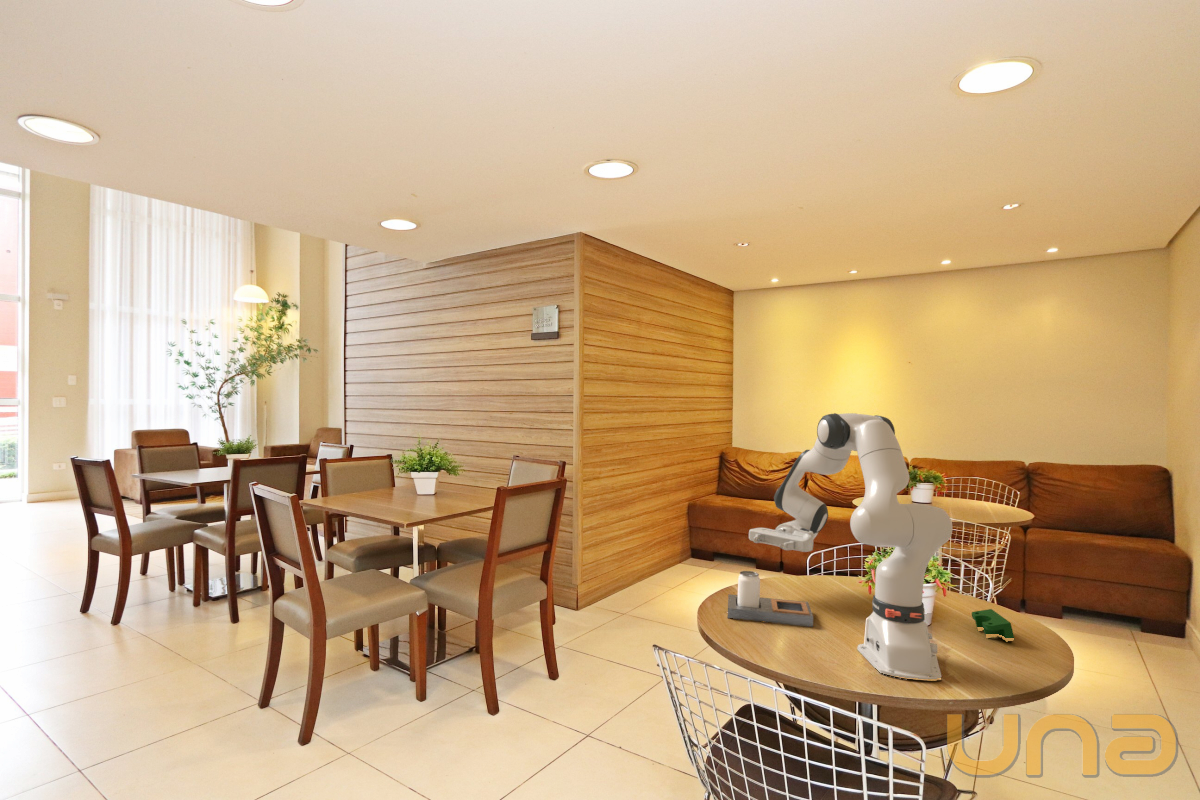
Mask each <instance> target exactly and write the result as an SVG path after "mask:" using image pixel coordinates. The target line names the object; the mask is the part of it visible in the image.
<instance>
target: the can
mask: <svg viewBox="0 0 1200 800" xmlns="http://www.w3.org/2000/svg"><path fill="white" fill-rule="evenodd" d="M737 595H738V600H737V606H744V607H754V608H759V600H760V597H761V596H760V595H761V579H760V577H759V573H758V572H756V571H751V570H743V571H740V572H739V575H738V578H737Z"/></svg>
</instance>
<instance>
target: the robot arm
mask: <svg viewBox="0 0 1200 800" xmlns="http://www.w3.org/2000/svg"><path fill="white" fill-rule="evenodd" d="M816 435H817V437H816V439H815V442H814V445H813V446H812V448H810V449H806V450H804V451H802V452H801V453H800V454H799V455H798V457H797V458H796V460H795V461H794V463H793V465H792V466H791V468H790V469H789V472H788V473H787V475H786V476H785V478H784V480H783V481H782V483H781V485H780V486H779V487H778V488H777V490H776V492H775V493H774V496H773V501H774V504H775V507H776V508H777V509H778V510H780V511H782V512H784V513H787V514H788V515H789V516H791V517H792V518H794V519H793V520H791V521H787V522H783V523H780V524H779V525H777V526H776V527H775V529H772V528H768V527H755V528H750V529H749V531H748V539H749V541H751V542H753V543H755V544H765V545H771V546H774V547H779V548H780V549H782V550H784V551H792V550H793V551H798V552H803V553H807V552H808V553H809V552H812V551H813V550H814V549H813V548H814V540H815V538H816V537H817V536H818V534H819V532H821V531H822V530H823V528H824V527H825V525H826V523H827V521H828V518H829V511H828V510H829V509H828V507H827V504H826V503H825V502H823V501H821V500H820V499H818V498H817V497H815V496H814V495H811V494H810V493H809V492H807V491H805V490H804V489H802V488H801V487H800V485H799V483H800V481H801V480H802V479H803V477H804V475H805V473H808V472H809V473H815V474H818V475H825V476H828V475H829V476H830V475H836V474H837V473H840V472H841V471H842V470H844V468H845V467H846V465H847V463H848V461H849V460H850V459H849V458H850V456H851V453H852V452H853V451H854V452H857V456H858V461H859V464H860V468H861V472H862V476H863V480H864V481H863V482H864V488H865V489H864V495H863V499H862V501H861V503H860V504H859V505H858V506H857V507H855V509H854V511H853V512H852V513H851V517H850V519H849V520H850V521H849V527H850V531H851V533H852V535H853V536H854V538H855V540H857V542H858V543H861V544H864V545H868V546H873V547H876V548H894V549H893V551H892V553H891V554H890V555H889V556H888V557H886V558H885V559H883V560H882V561H881V562H879V564H878V565H877V566H876V569H875V583H874V585H875V587H874V594H873V597H872V612H871V614H870V615H869V616H868V617H866V619H865V629H864V638H863V639H864V640H863V643H859V644H858V645H857V646H856V647H857V648H856V649H857V651H858V653H860V654H861V655H862V656H863V657H864V659H866V661H868V662H869V664H871V666H872V667H873V668H874V669H875V668H876V669H877V670H878V671H879V672H880V674H881V673H883V674H882V675H884V674H887V675H892V676H899V677H905V678H918V679H937V678H941V677H942V673H941V667H940V666H939V661H938V657H937V654H938V643H933V642H931V641H930V640H933V633H931V632H929V631H928V626H929V625H928V623H927V622H926V621H925V613H926V612H925V610H926V609H925V607H924V606H925V605H924V603H923V592H924V580H925V574H926V570H927V567H928V565H929V563H930V561H931V559H932V557H933V556H934V554H935V553H936V552H937V551H938V550H939V549H940V548H941V547H943V545H944V544H946V543H948V541H949V540H950V538H951V537H952V533H953V522H952V519H951V517H950V515H949V514H948V513H947V511H946V510H945V509H943V508H941V507H937V506H934V505H929V504H925V503H922V504H921V503H900V502H899V500H898V497H897V496H898V493H900V492H902V490H904V489H905V488H906V487H907V486H908V484H909V482H910V474H909V470H908V467H907V463H906V460H905V458H904V454H903V451H902V449H901V446H900V443H899V441H898V439H897V436H896V430H895V426H894V424H893V422H892V421H891V420H890V418H888V417H886V416H882V415H879V414H877V415H870V414H863V413H853V412H852V413H851V412H850V413H849V412H848V413H836V412H834V413H829V414H825V415H823V416H821V418H820V419H819V421H818V424H817V427H816ZM876 669H875V670H876ZM877 670H876V671H877ZM878 671H877V672H878ZM879 672H878V673H879ZM887 675H886V676H887ZM928 676H929V677H928Z"/></svg>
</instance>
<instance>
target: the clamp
mask: <svg viewBox="0 0 1200 800" xmlns="http://www.w3.org/2000/svg"><path fill="white" fill-rule="evenodd" d="M971 618H972V619H973V620H974V621H975V625H976V626H975V627H976V628H977V627H983V628H984V631H983V633H984V635H985V634H999V635H1002V636H1004V637H1005V638H1014V639H1015V635H1014V632H1013V627H1012V623H1011V622H1010V621H1008V619H1006V618H1005V617H1003V616H1002V615H1001V614H999V613H998V612H996V611H995V609H992V608H988V609H982V610H976V611H972V612H971Z"/></svg>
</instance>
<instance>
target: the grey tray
mask: <svg viewBox="0 0 1200 800" xmlns="http://www.w3.org/2000/svg"><path fill="white" fill-rule="evenodd" d="M727 596H728V598H727V619H730V618H733V620H740V619H743V620H742V621H749V620H753V621H752V622H759V621H764V622H763V623H768V622H772V623H771V624H778V623H780V625H787V624H788V625H787V626H789V625H790V626H799V627H807V628H808V627H809V628H813V627H814V615H813V612H812V609H811V607H810V603H809V601H802V600H790V599H781V598H780V599H779V598H771V597H770V598H769V597H761V596H760V600H759V608H754V607H744V606H737V600H738V594H728V595H727Z"/></svg>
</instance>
